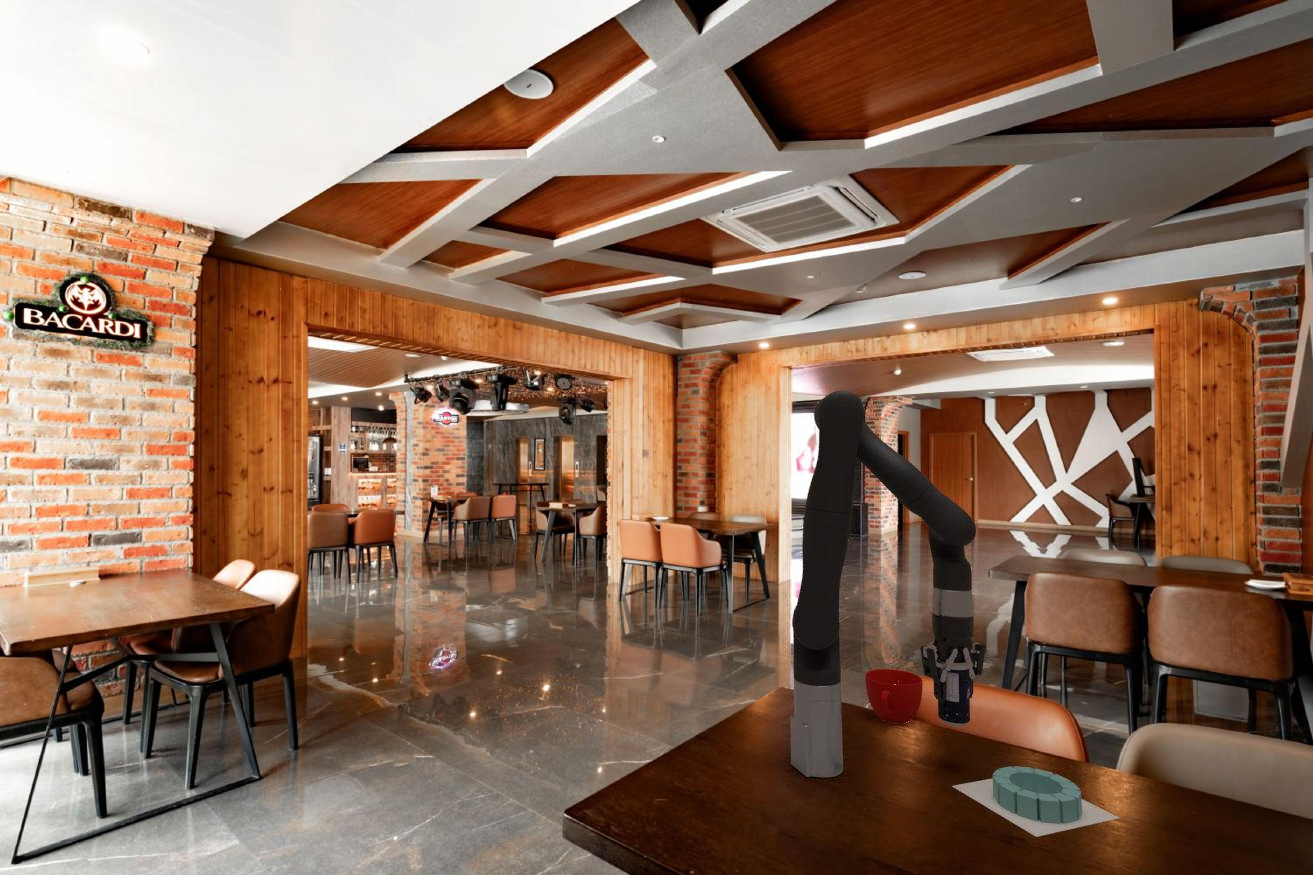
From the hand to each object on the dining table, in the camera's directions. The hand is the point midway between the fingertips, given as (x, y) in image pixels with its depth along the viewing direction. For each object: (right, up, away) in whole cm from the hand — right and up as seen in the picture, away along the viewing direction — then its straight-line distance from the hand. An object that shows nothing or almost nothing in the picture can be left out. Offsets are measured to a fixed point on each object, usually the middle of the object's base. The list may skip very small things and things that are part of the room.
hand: (953, 698), depth 127 cm
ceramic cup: (-2, -16, +26) cm, 31 cm away
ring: (+8, -13, -14) cm, 21 cm away
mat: (+7, -13, -14) cm, 20 cm away
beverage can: (0, -5, 0) cm, 5 cm away
